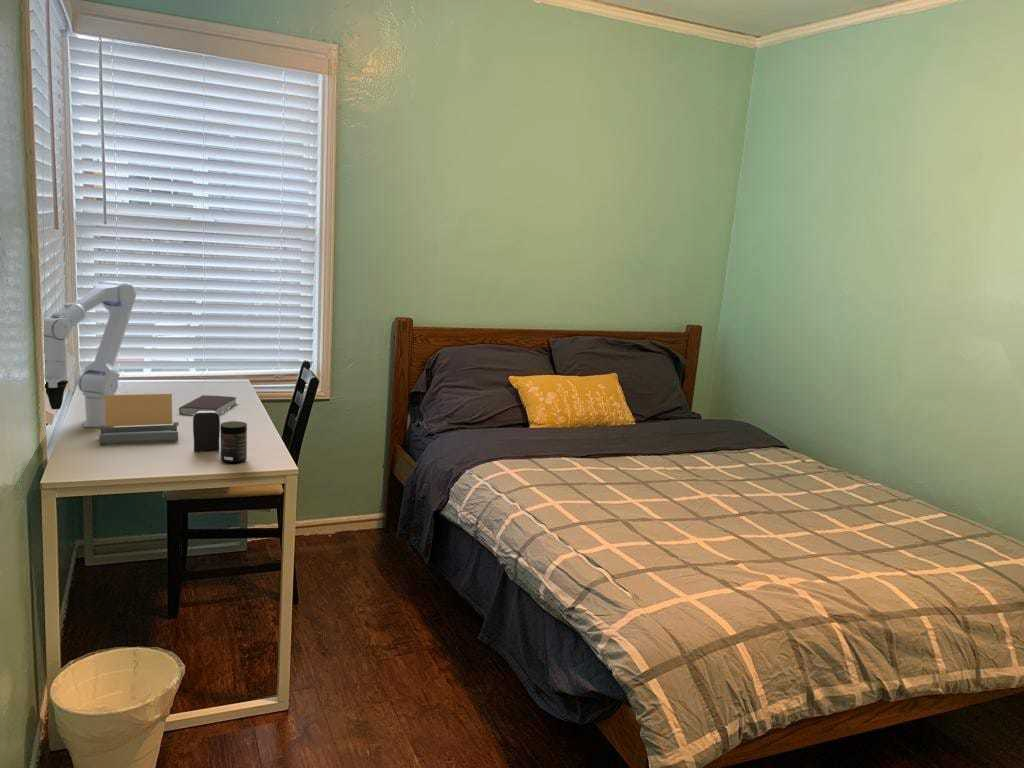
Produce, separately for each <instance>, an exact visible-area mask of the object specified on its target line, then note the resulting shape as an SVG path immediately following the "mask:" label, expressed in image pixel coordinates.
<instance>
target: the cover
mask: <svg viewBox="0 0 1024 768" xmlns="http://www.w3.org/2000/svg"><path fill="white" fill-rule="evenodd" d="M172 397H173V395H172V393H139V394H137V393H136V394H133V393H132V394H114V395H105V426H104V428H109V427H134V426H159V425H173V398H172Z"/></svg>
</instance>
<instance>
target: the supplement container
mask: <svg viewBox="0 0 1024 768" xmlns="http://www.w3.org/2000/svg"><path fill="white" fill-rule="evenodd" d="M247 446H248V423H246V422H244V421H237V420H235V421H233V420H232V421H225V422H221V423H220V461H221V462H222V463H223V464H225V465H229V466H230V465H231V466H234V465H235V466H236V465H240V464H244V463H245V462H246V461H247V459H248V450H247V449H248V447H247Z"/></svg>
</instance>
